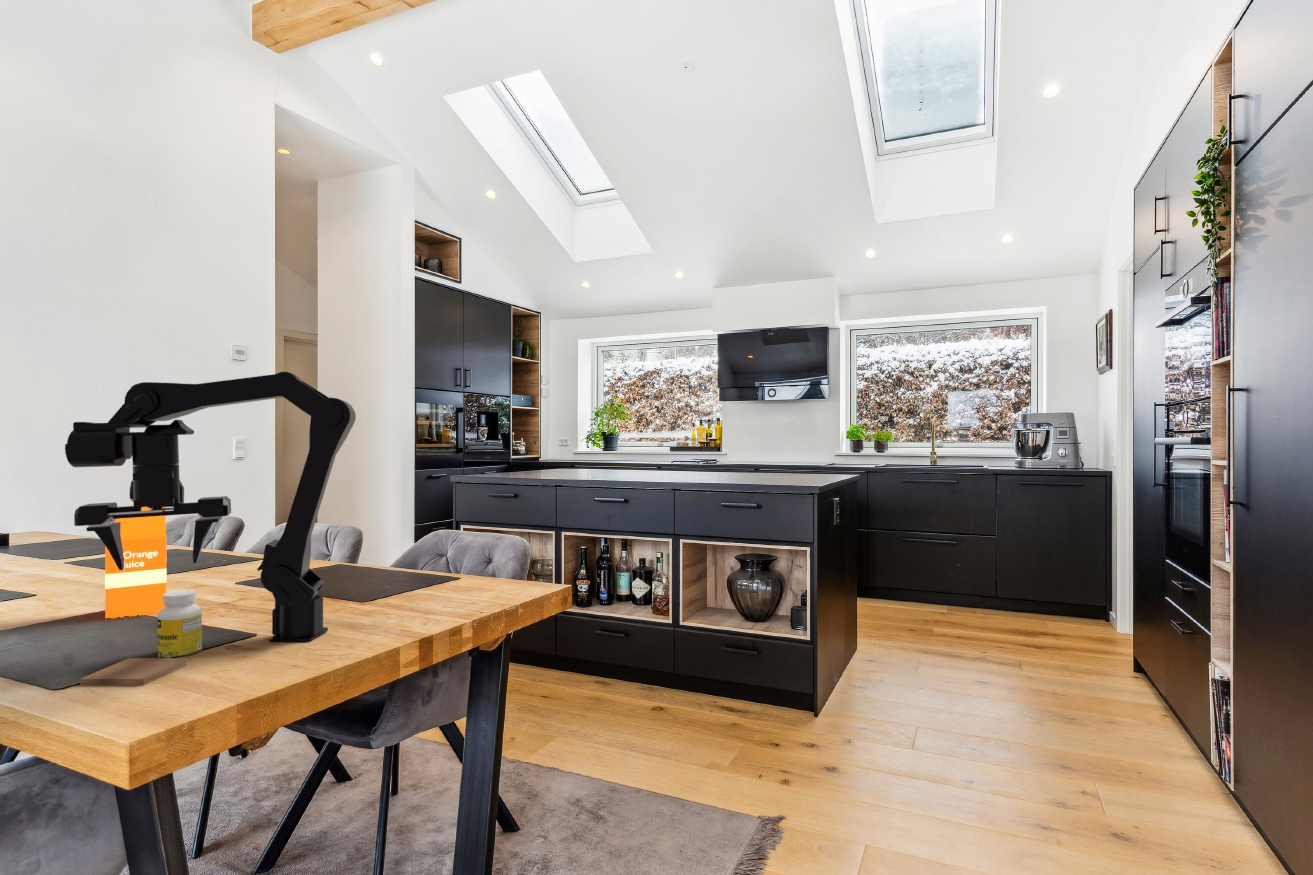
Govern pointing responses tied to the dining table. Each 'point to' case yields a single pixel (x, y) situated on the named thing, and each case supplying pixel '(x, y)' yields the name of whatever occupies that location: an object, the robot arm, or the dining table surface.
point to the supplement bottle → (179, 625)
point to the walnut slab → (134, 671)
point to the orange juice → (137, 568)
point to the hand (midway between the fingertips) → (159, 566)
